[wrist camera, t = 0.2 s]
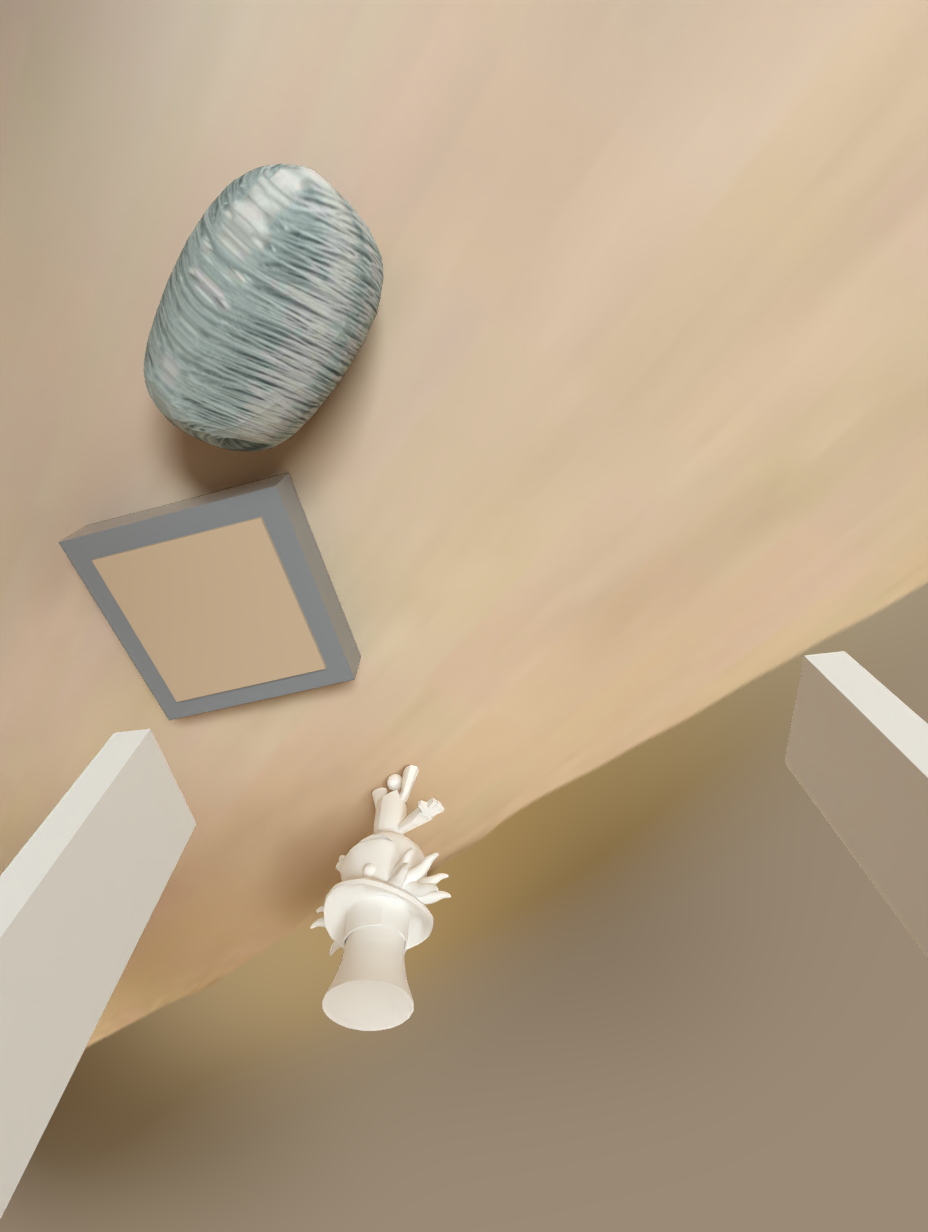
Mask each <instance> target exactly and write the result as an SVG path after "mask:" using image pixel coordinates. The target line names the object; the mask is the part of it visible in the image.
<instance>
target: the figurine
mask: <svg viewBox="0 0 928 1232" xmlns="http://www.w3.org/2000/svg"><path fill="white" fill-rule="evenodd" d="M418 772H419V771H418V768H417V766H413V765H410V766H408V767H405V769H404V771H403V775H402V777H401V776H400V775H398V774H393V775H391V776H389V778H388V780H387V785H388V787H389V789H391V790H393V791H392V792H390V793H388V794H387V792H388V791H387V789H386V788H383V787H382V788H378V789H375V790H374V791H373V792H372V795H373V800H374V804H375V809H376V813H375V819H374V833H373V834H372V835H370V836H368V837H366V838H364V839H363V840H361V841H360V842H358V843H357V844H356V845H355V846H354V847H353V848H351V849H350V851H349V852H348V853H347V855H346V856H345V855H340V856H339V862H338V863H337V864H336V869H337V870H338V871H339V872H340V873H341V879H342V882H339V883H337V884H336V885H334V887H333V888H332V889H331V890H330V891H329V892H328V894H327V895H326V898H325V902H324V905H322V906H321V907H319V908H318V909H317V911H316V913H319V912H324V917H323V918H320V919H317V920H316V921H315V922H314V923H313V924H312V925H311V928H310V929H312V928H315V927H318V926H319V927H326V929H327V931H328V933H329V935H330V937H331V939H333V940H334V942H333V943H332V945H331V948H330V951H329V956H331V955H332V954H333V953H334V952H335V951H336V950H337V949H338V948H340V947H342V948H343V949H344V953H343V956H342V960H341V963H340V966H339V969H338V971H337V974H336V976H335V978H334V980H333V982H332V984H331V986H330V987H329V989H328V991H327V993H326V994H325V997H324V999H323V1001H322V1006H323V1011H324V1012H325V1013H326V1015H327V1016H328V1018H330V1019H331V1020H333V1021H334V1022H335V1023H337V1024H340V1025H342V1026H344V1027H347V1028H350V1029H356V1030H361V1031H378V1030H384V1029H390V1028H392V1027H395V1026H397V1025H400V1024H402V1023H403V1022H404V1021H406V1020H407V1019H409V1017H410V1016H411V1014H412V1012H413V1011H414V1002H413V999H412V995H411V992H410V989H409V986H408V982H407V978H406V971H405V964H404V955H405V952H406V949H409V948H411V947H414V946H416V945H418V944H420V943H421V942H423V941H424V940H425V939H427V938H428V937H429V935H430V933H431V930H432V927H433V916H432V915H431V913H430V912H429V910H428V909H427V907H426V906H425V905H424V904H431V903H435V902H437V901H439V900H441V899H443V898H450V897H451V895H450V894H449V893H447V892H445V891H438V887H437V886H436V884H437V883H438V882H439V881H441V880H442V879H444V878H447V877H449V875H447V874H445V873H439V874H436V875H433V876H430V877H426V876H427V871H428V870H429V868H430V866H431V864H432V863H433V861H434V860H435V859H436V858H437V857H438V855H439V853H432V854H429V855H428V856H427V857H426V858H425V856H424V854H423V852H422V851H421V849H420V848H419V846H418V845H417V844H415V843H414V842H413V841H412V840H410V839H409V838H407V837H406V836H404V833H406V832H408V831H410V830H412V829H414V828H416V827H418V826H420V825H422V824H424V823H426V822H428V821H430V820H432V819H433V817H434V816H435V815H437V814H439V813H440V812H442V811H444V807H443V806H442V804H441V803H440V801H438V800H436V799H434V798H431V799H430V800H429V801H428V802H425V801H422V800H420V801H419V802H418V807H417V808H416V809H415V810H414V811H413V812H412V813H411V814H409V815H408V816H407V806H406V801H407V799H408V797H409V795H410V793H411V790H412V787H413V785H414V782H415V780H416V777H417V774H418ZM401 787H402V788H401ZM399 789H401V792H400V793H398V790H399ZM432 891H435V892H432Z"/></svg>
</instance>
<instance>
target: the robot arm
mask: <svg viewBox="0 0 928 1232" xmlns="http://www.w3.org/2000/svg"><path fill="white" fill-rule="evenodd" d="M784 763H785V764H786V765H787V767H788V768H789V769H790V771H791V772H792V773H793V775H794V776H795V778H796V779H797V780H798V782H799V783H800V784H801V786H802V787H803V789H804V790H805V791H806V793H807V794H808V795H809V797H810V798H811V800H812V801H813V802H814V804H815V805H816V806H817V808H818V809H819V810H820V812H821V813H822V815H823V816H824V817H825V819H826V820H827V821H828V823H829V824H830V826H831V827H832V828H833V830H834V831H835V832H836V834H837V835H838V836H839V838H840V839H841V841H842V842H843V843H844V845H845V846H846V847H847V849H848V850H849V852H850V853H851V854H852V856H853V857H854V858H855V859H856V861H857V862H858V864H859V865H860V866H861V868H862V869H863V871H864V872H865V873H866V875H867V876H868V877H869V879H870V880H871V882H872V883H873V884H874V886H875V887H876V888H877V890H878V891H879V892H880V894H881V895H882V897H883V898H884V899H885V901H886V902H887V903H888V905H889V906H890V908H891V909H892V910H893V912H894V913H895V914H896V916H897V917H898V918H899V920H900V921H901V923H902V924H903V925H904V927H905V928H906V930H907V931H908V932H909V934H910V935H911V936H912V938H913V939H914V940H915V942H916V943H917V945H918V946H919V947H920V949H921V950H922V951H923V953H924V954H925V955H926V957H927V958H928V724H927V723H926V722H925V721H924V720H922V719H921V718H920V717H919V716H918V715H917V714H916V713H914V712H913V711H912V710H911V709H910V708H909V707H908V706H906V705H905V704H904V703H903V702H902V701H900V699H898V698H897V697H896V696H895V695H894V694H893V693H891V692H890V691H889V690H888V689H887V688H886V687H885V686H884V685H882V684H881V683H880V682H879V681H878V680H877V679H875V678H874V677H873V676H872V675H871V674H870V673H869V672H867V671H866V670H865V669H864V668H863V667H862V666H861V665H860V664H858V663H857V662H856V661H855V660H854V659H853V658H851V657H850V656H849V655H848V654H847V653H846V652H845V651H842V652H833V653H824V654H815V655H806V656H804V660H803V665H802V670H801V676H800V682H799V687H798V692H797V697H796V703H795V708H794V714H793V719H792V725H791V730H790V735H789V741H788V746H787V752H786V757H785V762H784ZM195 826H196V822H195V820H194V818H193V816H192V813H191V811H190V809H189V807H188V805H187V803H186V801H185V799H184V797H183V795H182V793H181V791H180V789H179V787H178V785H177V783H176V780H175V778H174V776H173V774H172V772H171V770H170V768H169V766H168V764H167V762H166V760H165V758H164V756H163V754H162V752H161V750H160V748H159V745H158V743H157V741H156V739H155V737H154V735H153V733H152V731H151V729H144V730H135V731H126V732H117V733H114V734H113V735H112V736H111V737H110V739H109V740H108V741H107V742H106V744H105V745H104V746H103V748H102V749H101V750H100V751H99V753H98V754H97V755H96V756H95V758H94V759H93V760H92V761H91V763H90V764H89V765H88V766H87V768H86V769H85V770H84V771H83V773H82V774H81V775H80V776H79V778H78V779H77V780H76V781H75V783H74V784H73V785H72V786H71V788H70V789H69V790H68V791H67V793H66V794H65V795H64V796H63V798H62V799H61V800H60V801H59V803H58V804H57V805H56V807H55V808H54V809H53V810H52V812H51V813H50V814H49V815H48V817H47V818H46V819H45V820H44V822H43V823H42V824H41V825H40V827H39V828H38V829H37V830H36V832H35V833H34V834H33V835H32V837H31V838H30V839H29V840H28V842H27V843H26V844H25V845H24V847H23V848H22V849H21V850H20V852H19V853H18V854H17V855H16V857H15V858H14V859H13V861H12V862H11V863H10V864H9V866H8V867H7V868H6V869H5V871H4V872H3V873H2V874H1V876H0V1219H1V1217H2V1215H3V1213H4V1211H5V1209H6V1207H7V1205H8V1203H9V1201H10V1199H11V1197H12V1194H13V1193H14V1191H15V1189H16V1187H17V1184H18V1183H19V1180H20V1178H21V1176H22V1174H23V1172H24V1170H25V1168H26V1166H27V1164H28V1162H29V1160H30V1158H31V1156H32V1154H33V1152H34V1150H35V1148H36V1146H37V1144H38V1142H39V1140H40V1138H41V1136H42V1134H43V1132H44V1130H45V1128H46V1126H47V1124H48V1122H49V1120H50V1118H51V1116H52V1114H53V1112H54V1110H55V1108H56V1106H57V1104H58V1102H59V1100H60V1098H61V1096H62V1094H63V1092H64V1090H65V1088H66V1086H67V1084H68V1082H69V1080H70V1078H71V1076H72V1074H73V1072H74V1070H75V1068H76V1066H77V1064H78V1062H79V1060H80V1058H81V1055H82V1054H83V1052H84V1050H85V1048H86V1046H87V1044H88V1041H89V1039H90V1037H91V1035H92V1033H93V1031H94V1029H95V1027H96V1025H97V1023H98V1021H99V1019H100V1017H101V1015H102V1013H103V1011H104V1009H105V1007H106V1005H107V1003H108V1001H109V999H110V997H111V995H112V993H113V991H114V989H115V987H116V985H117V983H118V981H119V979H120V977H121V975H122V973H123V971H124V969H125V967H126V965H127V963H128V961H129V959H130V957H131V955H132V953H133V951H134V949H135V947H136V945H137V943H138V941H139V939H140V937H141V935H142V933H143V931H144V929H145V927H146V925H147V923H148V921H149V919H150V917H151V915H152V913H153V911H154V909H155V906H156V904H157V902H158V900H159V898H160V896H161V894H162V892H163V890H164V888H165V886H166V884H167V882H168V880H169V878H170V876H171V874H172V872H173V870H174V868H175V866H176V864H177V862H178V860H179V858H180V856H181V854H182V852H183V850H184V848H185V846H186V844H187V842H188V840H189V838H190V836H191V834H192V832H193V830H194V828H195Z"/></svg>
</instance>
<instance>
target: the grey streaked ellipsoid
mask: <svg viewBox="0 0 928 1232" xmlns="http://www.w3.org/2000/svg"><path fill="white" fill-rule="evenodd" d="M382 284H383V264H382V258H381V255H380V252H379V250H378V247H377V245H376V243H375V240H374V238H373V236H372V234H371V232H370V230H369V228H368V227H367V225H366V224H365V222H364V221H363V220H362V218H361V217H360V216H359V215H358V214H357V212H356V211H355V210H354V209H353V207H352V206H351V205H350V203H349V202H348V201H346V200H345V199H344V198H342V196H341V195H340V194H339V193H338V192H337V191H336V190H335V188H334V187H333V186H332V185H330V184H329V183H328V182H327V181H326V180H325V179H324V178H322V177H321V176H320V175H318V174H317V173H316V172H314V171H313V170H311V169H309V168H306V167H304V166H297V165H286V164H276V165H267V166H263V167H260V168H256V169H254V170H252V171H249V172H247V173H246V174H244V175H242V176H241V177H239V178H237V179H236V180H234V181H233V182H232V183H231V184H229V185H228V186H227V187H226V188H225V189H224V190H223V192H222V193H221V194H220V195H219V196H218V197H217V198H216V200H215V201H214V202H213V203H212V204H211V205H210V206H209V208H208V209H207V211H206V212H205V214H204V215H203V217H202V218H201V220H200V221H199V223H198V224H197V226H196V227H195V229H194V230H193V232H192V233H191V235H190V237H189V238H188V240H187V242H186V244H185V246H184V248H183V250H182V252H181V254H180V256H179V258H178V260H177V262H176V264H175V266H174V269H173V271H172V273H171V275H170V277H169V279H168V282H167V285H166V287H165V290H164V292H163V295H162V298H161V301H160V304H159V306H158V309H157V312H156V315H155V319H154V322H153V325H152V328H151V331H150V334H149V338H148V342H147V347H146V354H145V360H144V377H145V383H146V386H147V389H148V392H149V394H150V396H151V398H152V399H153V401H154V403H155V404H156V406H157V407H158V408H159V410H160V411H161V412H162V413H163V415H164V416H165V417H166V418H167V419H168V420H169V421H170V422H171V423H172V424H173V425H174V426H176V427H177V428H179V429H180V430H182V431H184V432H185V433H187V434H189V435H191V436H193V437H195V438H197V439H199V440H202V441H204V442H206V443H209V444H211V445H213V446H217V447H220V448H224V449H229V450H234V451H251V452H253V451H260V450H265V449H269V448H273V447H275V446H277V445H279V444H281V443H282V442H284V441H286V440H287V439H289V438H290V437H292V436H293V435H294V434H296V433H297V432H298V430H299V429H300V428H301V427H302V426H303V425H304V424H305V423H306V422H307V421H308V420H309V419H310V418H311V417H312V416H313V415H314V413H315V412H316V411H317V410H318V409H319V408H320V406H321V405H322V404H323V403H324V401H325V400H326V399H327V397H328V396H329V395H330V393H331V392H332V391H333V390H334V388H335V387H336V386H337V384H338V383H339V382H340V380H341V379H342V377H343V376H344V374H345V372H346V371H347V369H348V368H349V366H350V365H351V363H352V361H353V359H354V358H355V356H356V354H357V352H358V350H359V348H360V347H361V345H362V344H363V342H364V341H365V339H366V336H367V334H368V331H369V329H370V326H371V324H372V322H373V320H374V318H375V316H376V314H377V311H378V306H379V302H380V296H381V290H382Z"/></svg>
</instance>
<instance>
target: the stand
mask: <svg viewBox="0 0 928 1232" xmlns="http://www.w3.org/2000/svg"><path fill="white" fill-rule="evenodd" d="M59 544H60V545H61V547H62V548H63V550H64V552H65V553H66V555H67V557H68V558H69V560H70V561H71V563H72V565H73V566H74V568H75V569H76V571H77V573H78V574H79V576H80V577H81V579H82V581H83V582H84V584H85V586H86V587H87V589H88V590H89V592H90V594H91V595H92V597H93V598H94V600H95V602H96V603H97V605H98V606H99V608H100V610H101V611H102V613H103V615H104V616H105V618H106V619H107V621H108V623H109V624H110V626H111V627H112V629H113V631H114V632H115V634H116V636H117V637H118V639H119V640H120V642H121V644H122V645H123V647H124V648H125V650H126V652H127V653H128V655H129V656H130V658H131V660H132V661H133V663H134V665H135V666H136V668H137V669H138V671H139V673H140V674H141V676H142V677H143V679H144V681H145V682H146V684H147V685H148V687H149V689H150V690H151V692H152V694H153V695H154V697H155V698H156V700H157V702H158V703H159V705H160V706H161V708H162V710H163V711H164V713H165V714H166V716H167V718H168V719H169V720H172V719H177V718H182V717H186V716H191V715H195V714H200V713H204V712H209V711H213V710H218V709H222V708H227V707H232V706H236V705H241V704H245V703H250V702H254V701H259V700H263V699H268V698H272V697H277V696H281V695H286V694H291V693H295V692H300V691H304V690H309V689H313V688H318V687H322V686H327V685H331V684H336V683H340V682H345V681H350V680H354V679H355V676H356V673H357V669H358V665H359V661H360V657H361V655H360V653H359V650H358V648H357V645H356V643H355V640H354V638H353V635H352V633H351V630H350V628H349V625H348V622H347V620H346V617H345V615H344V612H343V610H342V607H341V605H340V602H339V600H338V597H337V595H336V592H335V590H334V587H333V584H332V582H331V579H330V577H329V574H328V572H327V569H326V567H325V564H324V562H323V559H322V557H321V554H320V551H319V549H318V546H317V544H316V541H315V539H314V536H313V534H312V531H311V529H310V526H309V524H308V521H307V518H306V516H305V513H304V511H303V508H302V506H301V503H300V501H299V498H298V496H297V493H296V491H295V488H294V485H293V483H292V480H291V478H290V475H289V473H287V474H283V475H279V476H275V477H271V478H267V479H264V480H260V481H256V482H252V483H248V484H244V485H240V486H237V487H233V488H229V489H225V490H221V491H217V492H214V493H210V494H206V495H202V496H198V497H194V498H191V499H187V500H183V501H179V502H175V503H171V504H168V505H164V506H160V507H156V508H152V509H148V510H144V511H141V512H137V513H133V514H129V515H125V516H121V517H118V518H114V519H110V520H106V521H102V522H98V523H95V524H91V525H87V526H85V527H83V528H82V529H80V530H78V531H77V532H75V533H73V534H71V535H70V536H68V537H66V538H65V539H63V540H61V541H60V542H59Z"/></svg>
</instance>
